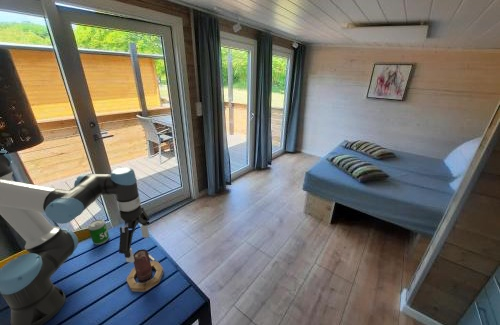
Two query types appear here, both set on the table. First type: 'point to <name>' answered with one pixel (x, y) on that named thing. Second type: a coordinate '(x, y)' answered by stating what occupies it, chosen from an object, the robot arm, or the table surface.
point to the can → (142, 265)
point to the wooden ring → (149, 284)
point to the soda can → (98, 231)
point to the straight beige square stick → (151, 258)
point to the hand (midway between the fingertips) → (138, 248)
